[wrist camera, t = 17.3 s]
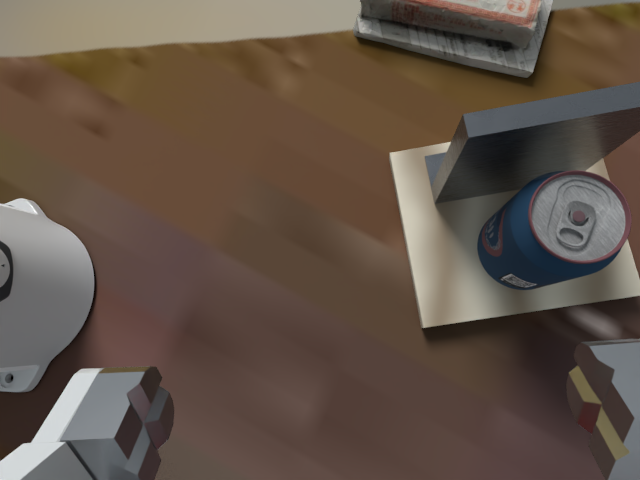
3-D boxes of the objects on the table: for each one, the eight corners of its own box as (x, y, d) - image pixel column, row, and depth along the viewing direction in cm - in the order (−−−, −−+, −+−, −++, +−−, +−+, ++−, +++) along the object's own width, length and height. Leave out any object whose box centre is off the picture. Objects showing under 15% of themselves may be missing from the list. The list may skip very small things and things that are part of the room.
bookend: (434, 204, 40) (468, 137, 26) (424, 157, 41) (452, 69, 27) (572, 180, 39) (682, 98, 25) (558, 133, 40) (658, 30, 26)
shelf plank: (421, 327, 39) (423, 327, 38) (389, 159, 42) (389, 153, 41) (633, 296, 38) (644, 294, 36) (582, 124, 41) (590, 117, 40)
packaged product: (349, 7, 41) (382, -81, 43) (351, 40, 46) (380, -40, 48) (547, 52, 38) (575, -44, 40) (528, 83, 43) (553, -4, 45)
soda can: (490, 199, 39) (542, 144, 27) (569, 230, 38) (659, 185, 26) (461, 271, 38) (502, 245, 27) (541, 305, 37) (621, 293, 25)
